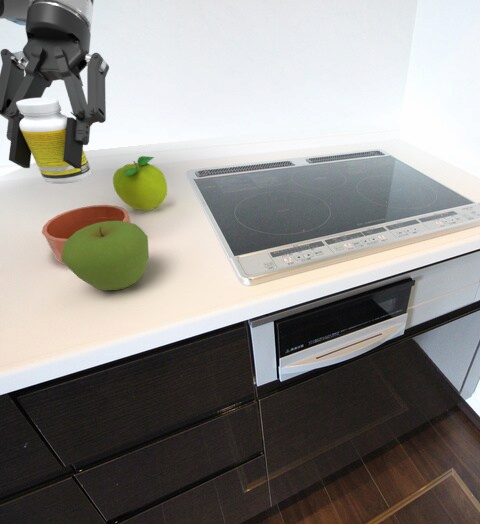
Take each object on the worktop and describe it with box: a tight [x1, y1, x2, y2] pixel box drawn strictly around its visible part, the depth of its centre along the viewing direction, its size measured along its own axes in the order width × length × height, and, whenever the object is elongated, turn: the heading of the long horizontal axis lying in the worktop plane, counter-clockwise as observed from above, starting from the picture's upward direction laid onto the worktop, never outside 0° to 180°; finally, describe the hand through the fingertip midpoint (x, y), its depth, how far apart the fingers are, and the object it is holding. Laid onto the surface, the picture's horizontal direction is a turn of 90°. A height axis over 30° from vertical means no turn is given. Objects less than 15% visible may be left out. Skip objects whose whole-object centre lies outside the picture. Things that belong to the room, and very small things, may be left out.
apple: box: [61, 221, 150, 291], centre depth 53 cm, size 11×10×10 cm
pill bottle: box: [16, 97, 92, 185], centre depth 53 cm, size 6×6×11 cm
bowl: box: [41, 204, 132, 266], centre depth 62 cm, size 12×12×5 cm
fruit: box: [112, 155, 168, 212], centre depth 73 cm, size 9×9×10 cm
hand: (46, 164), depth 51 cm, fingers closed on pill bottle, 6 cm apart
